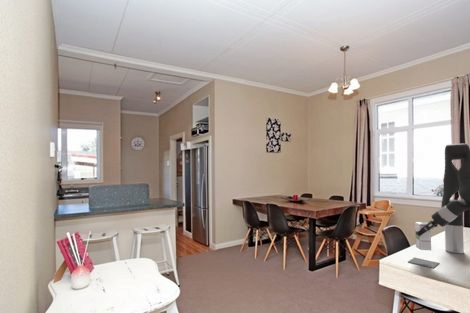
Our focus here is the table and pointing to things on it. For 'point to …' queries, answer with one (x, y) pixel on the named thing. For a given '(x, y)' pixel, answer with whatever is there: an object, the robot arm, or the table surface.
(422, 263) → the mat
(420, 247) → the syrup box
